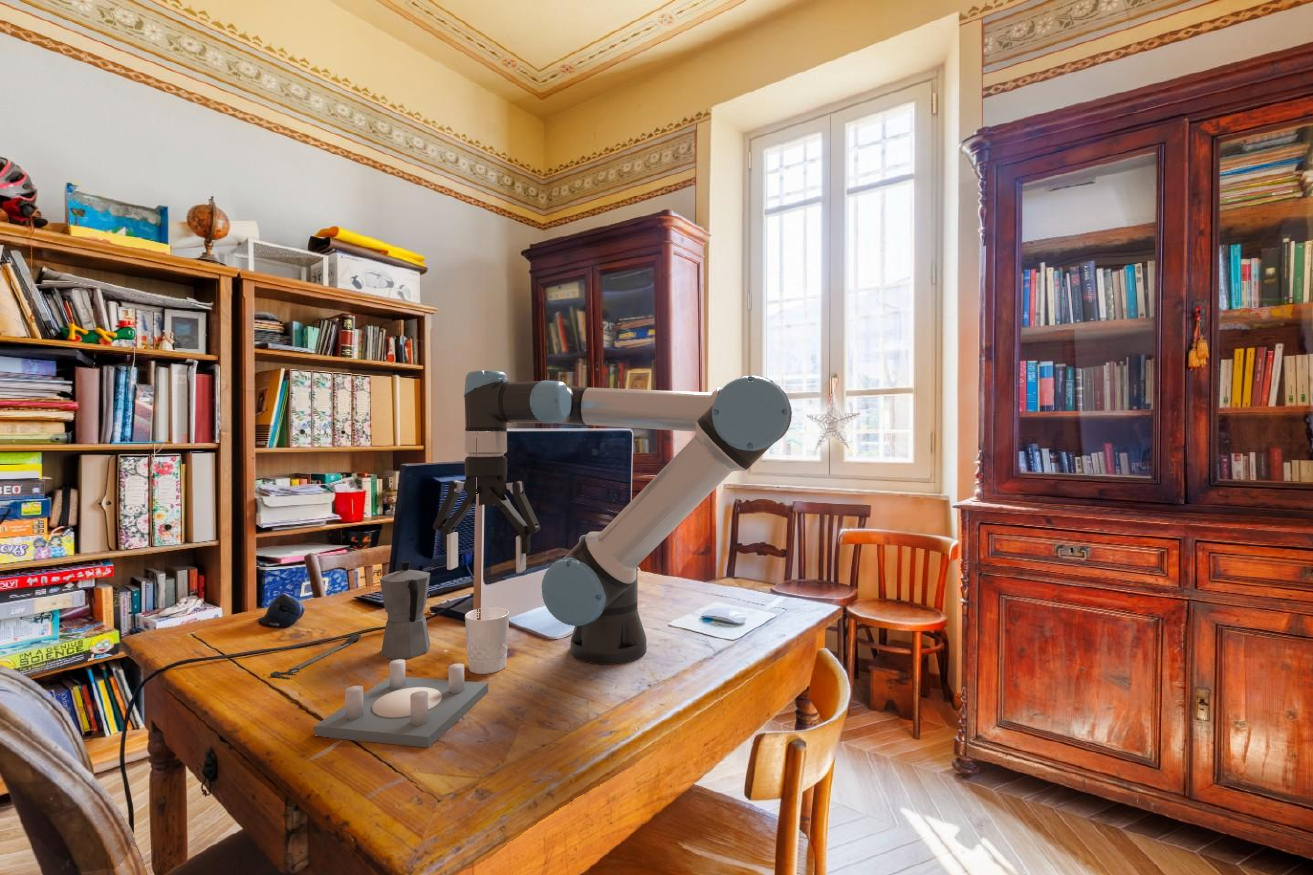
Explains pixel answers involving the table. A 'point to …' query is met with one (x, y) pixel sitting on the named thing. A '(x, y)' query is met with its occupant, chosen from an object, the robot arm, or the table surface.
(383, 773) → the table surface
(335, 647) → the tactical tomahawk
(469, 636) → the white cup
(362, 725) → the peg stand
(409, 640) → the coffeepot
